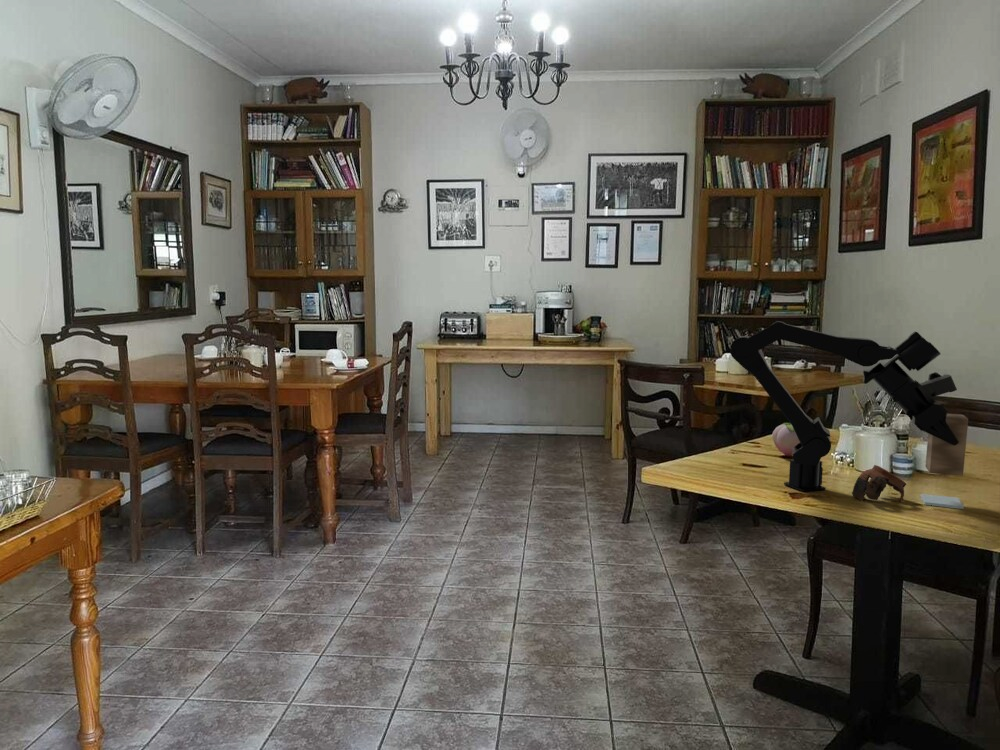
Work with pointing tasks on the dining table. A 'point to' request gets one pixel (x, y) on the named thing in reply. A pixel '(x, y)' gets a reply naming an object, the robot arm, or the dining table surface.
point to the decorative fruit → (785, 438)
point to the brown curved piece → (876, 483)
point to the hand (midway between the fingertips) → (953, 441)
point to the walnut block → (948, 448)
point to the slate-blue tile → (941, 501)
